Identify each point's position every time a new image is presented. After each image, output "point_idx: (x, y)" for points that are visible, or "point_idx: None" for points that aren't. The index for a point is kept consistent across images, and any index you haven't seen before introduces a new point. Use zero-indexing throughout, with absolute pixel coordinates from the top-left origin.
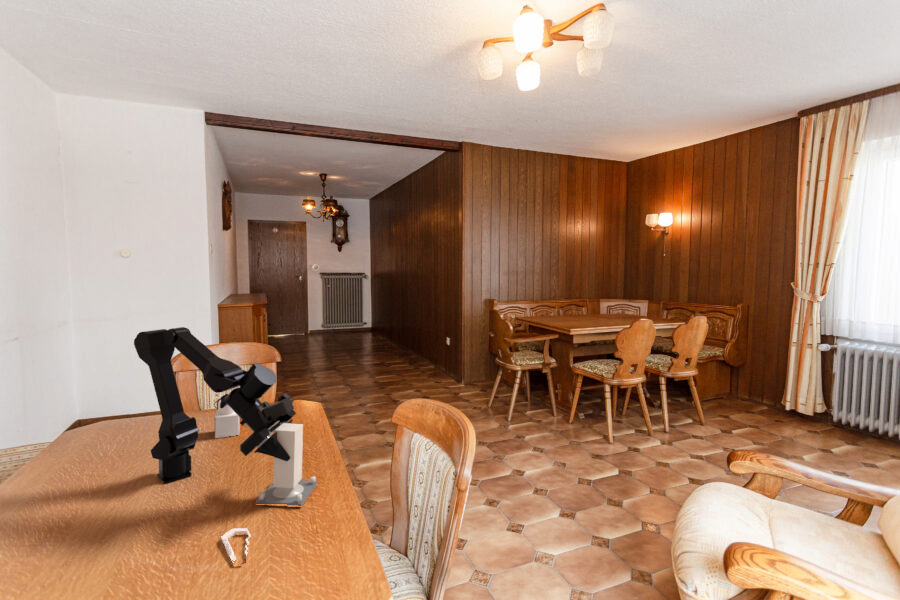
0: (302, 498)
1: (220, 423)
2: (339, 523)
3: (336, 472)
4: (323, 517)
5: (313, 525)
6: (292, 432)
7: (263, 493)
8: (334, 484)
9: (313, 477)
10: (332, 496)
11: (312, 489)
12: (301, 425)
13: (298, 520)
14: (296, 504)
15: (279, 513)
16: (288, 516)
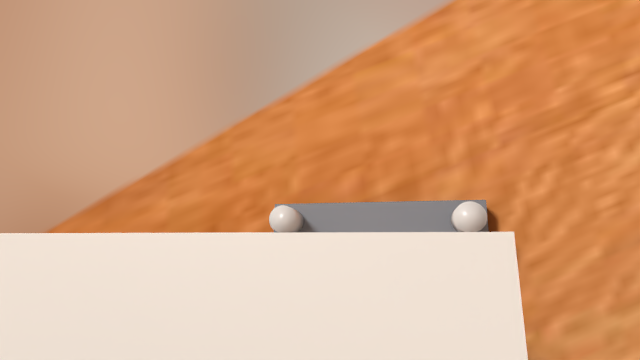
0: (436, 213)
1: None
2: (565, 8)
3: (174, 172)
4: (535, 83)
5: (609, 96)
6: (519, 319)
7: None
8: (269, 143)
9: (282, 215)
10: (365, 114)
11: (343, 203)
12: (26, 239)
13: (587, 173)
14: (487, 223)
15: (549, 285)
16: (565, 231)
